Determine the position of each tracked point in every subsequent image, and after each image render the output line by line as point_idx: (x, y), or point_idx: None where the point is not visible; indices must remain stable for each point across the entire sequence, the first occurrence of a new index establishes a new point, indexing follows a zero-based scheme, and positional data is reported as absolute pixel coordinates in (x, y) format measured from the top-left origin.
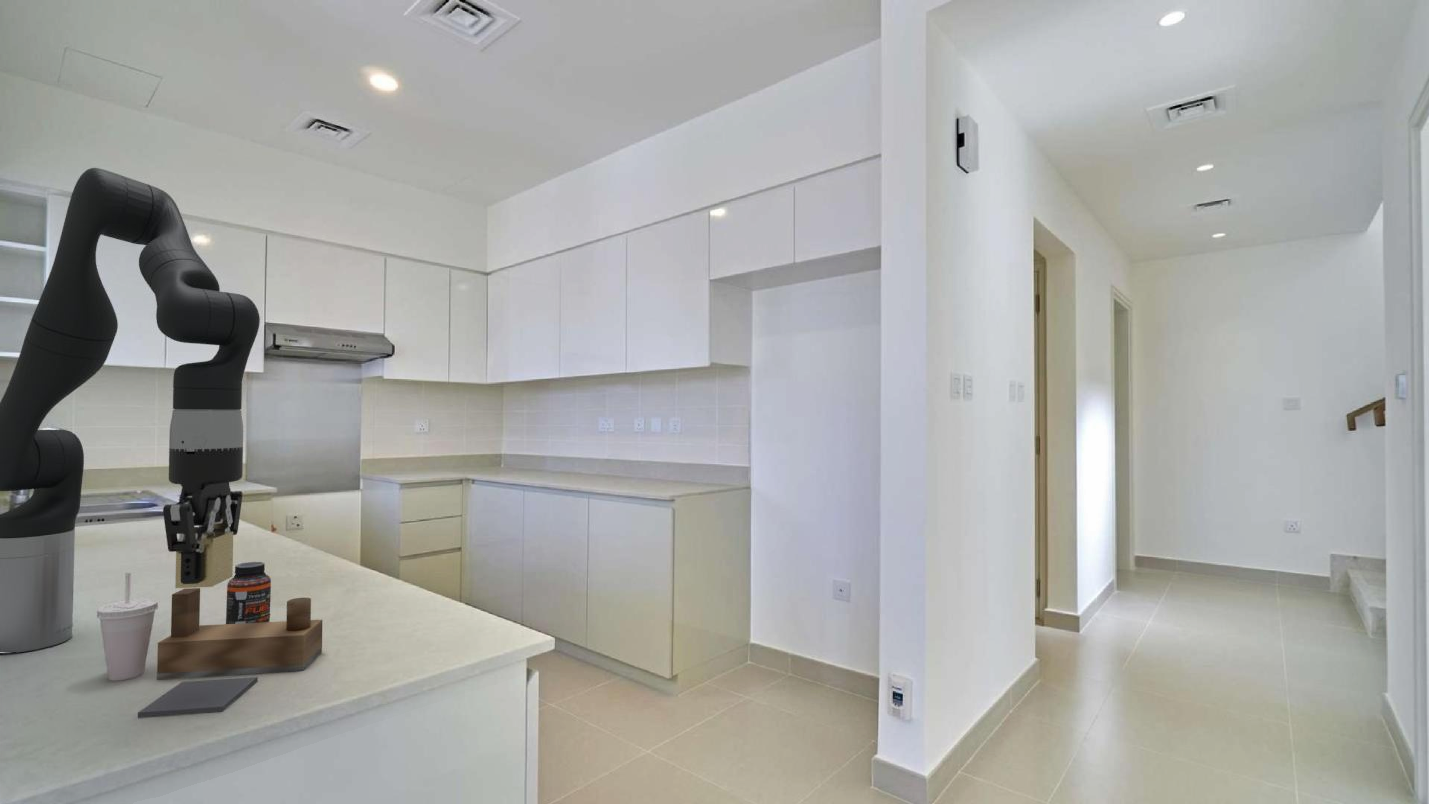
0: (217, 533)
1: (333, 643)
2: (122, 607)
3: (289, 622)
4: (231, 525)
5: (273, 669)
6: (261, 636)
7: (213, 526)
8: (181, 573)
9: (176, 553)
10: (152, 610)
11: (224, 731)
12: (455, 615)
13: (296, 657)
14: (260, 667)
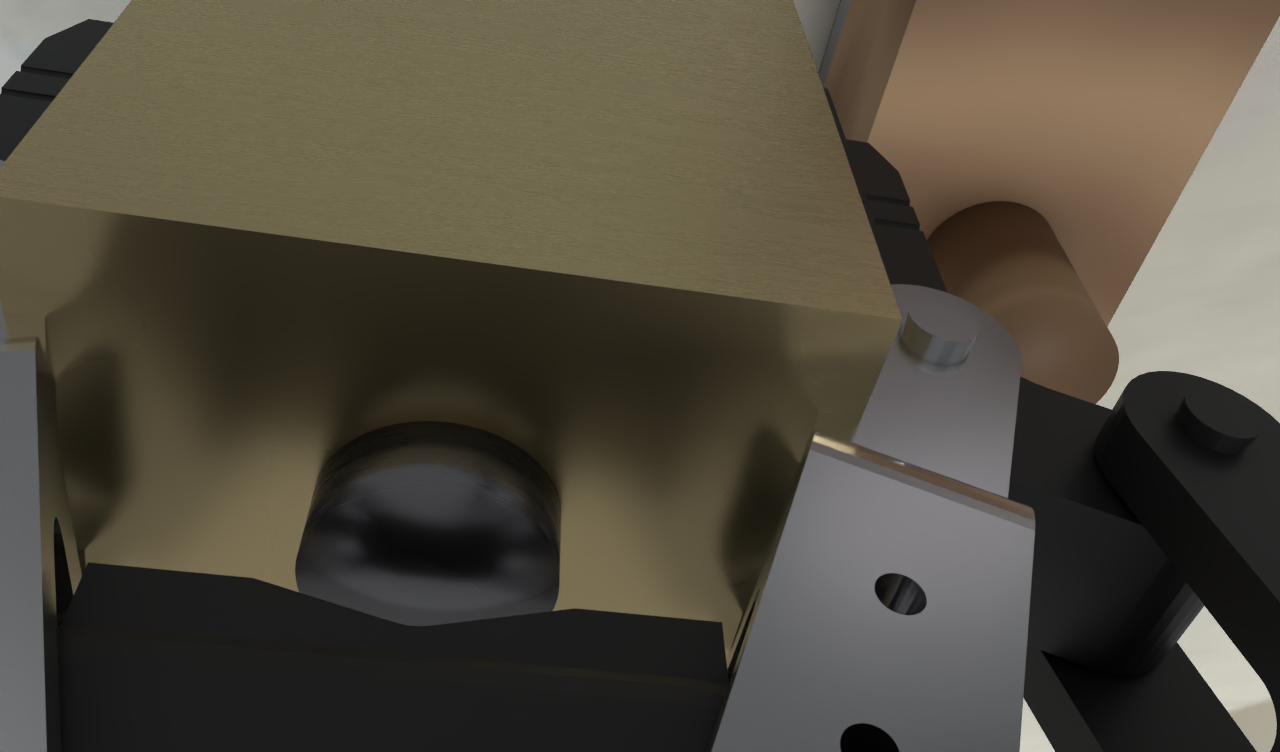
0: (608, 602)
1: (1162, 262)
2: None
3: (951, 257)
4: (1064, 703)
5: (823, 69)
6: (905, 90)
7: (738, 634)
8: (28, 62)
9: (98, 57)
10: None
11: (65, 18)
12: (1243, 659)
13: None
14: (848, 8)
